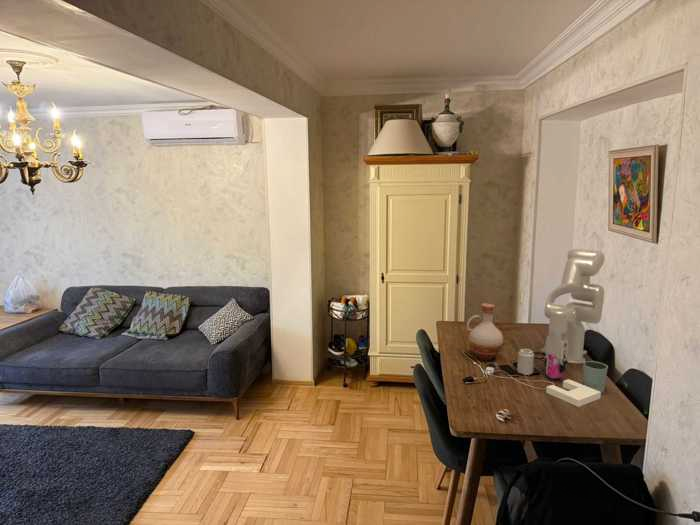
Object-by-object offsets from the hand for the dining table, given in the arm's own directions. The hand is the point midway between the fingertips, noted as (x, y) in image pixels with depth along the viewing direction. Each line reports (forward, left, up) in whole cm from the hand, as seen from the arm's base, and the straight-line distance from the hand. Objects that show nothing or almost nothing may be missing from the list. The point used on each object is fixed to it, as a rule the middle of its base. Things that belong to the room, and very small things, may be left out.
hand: (554, 368), depth 233 cm
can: (+7, -12, -5) cm, 14 cm away
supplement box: (0, 0, -4) cm, 4 cm away
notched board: (+9, +16, -5) cm, 19 cm away
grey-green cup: (-6, +17, -5) cm, 19 cm away
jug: (+9, -38, -5) cm, 39 cm away
